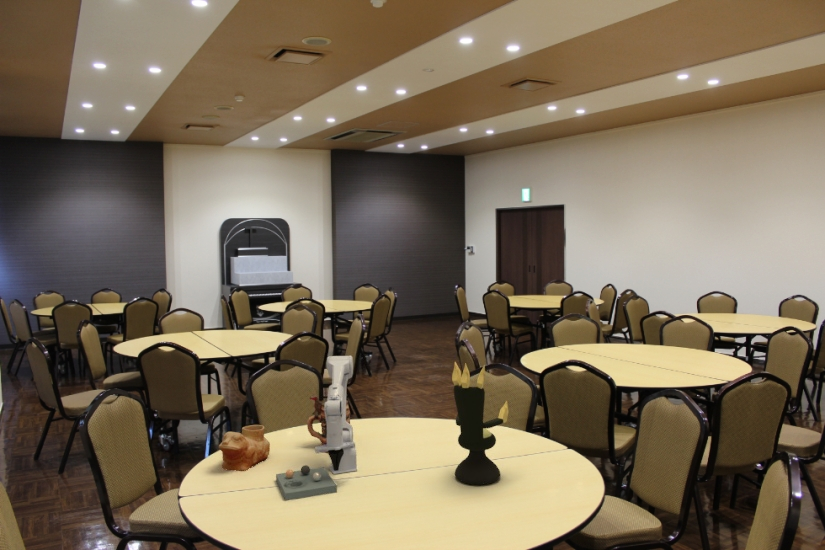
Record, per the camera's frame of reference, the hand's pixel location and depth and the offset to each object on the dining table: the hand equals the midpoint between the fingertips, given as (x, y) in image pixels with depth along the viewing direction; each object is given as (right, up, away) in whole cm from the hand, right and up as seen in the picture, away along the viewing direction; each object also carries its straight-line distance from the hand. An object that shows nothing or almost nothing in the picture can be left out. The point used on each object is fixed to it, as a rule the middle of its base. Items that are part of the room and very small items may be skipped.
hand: (335, 469), depth 237 cm
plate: (-11, -6, -1) cm, 12 cm away
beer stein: (-6, -3, +43) cm, 43 cm away
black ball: (-12, -1, +4) cm, 13 cm away
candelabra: (+51, -5, +2) cm, 52 cm away
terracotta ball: (-17, -2, +1) cm, 17 cm away
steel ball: (-7, -2, -2) cm, 7 cm away
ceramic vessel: (-40, -5, +26) cm, 47 cm away
